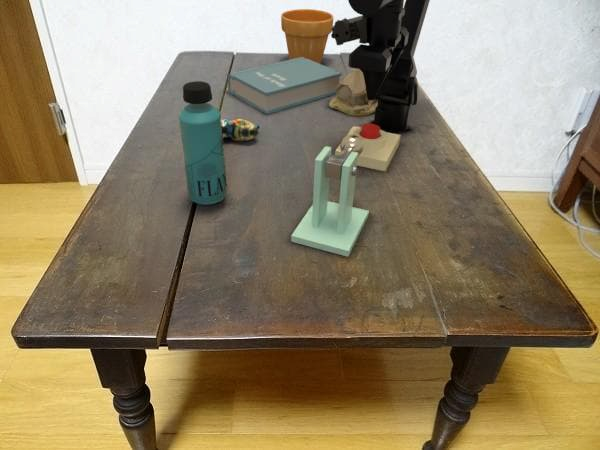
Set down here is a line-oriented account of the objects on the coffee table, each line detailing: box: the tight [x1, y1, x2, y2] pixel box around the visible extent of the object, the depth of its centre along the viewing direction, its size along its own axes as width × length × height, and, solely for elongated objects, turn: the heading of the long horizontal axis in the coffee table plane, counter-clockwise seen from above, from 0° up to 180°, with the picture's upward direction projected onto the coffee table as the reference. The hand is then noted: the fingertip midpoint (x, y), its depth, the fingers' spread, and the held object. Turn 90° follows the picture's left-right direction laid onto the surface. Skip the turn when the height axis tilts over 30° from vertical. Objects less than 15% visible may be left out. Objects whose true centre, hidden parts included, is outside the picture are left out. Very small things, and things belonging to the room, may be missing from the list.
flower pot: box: [280, 8, 334, 65], centre depth 135 cm, size 14×14×13 cm
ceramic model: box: [328, 68, 378, 117], centre depth 112 cm, size 14×11×10 cm
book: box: [227, 57, 343, 115], centre depth 119 cm, size 23×16×5 cm
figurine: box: [221, 118, 260, 142], centre depth 99 cm, size 10×4×15 cm
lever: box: [325, 135, 364, 181], centre depth 72 cm, size 11×4×4 cm, turn 158°
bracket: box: [290, 145, 370, 258], centre depth 71 cm, size 11×9×13 cm
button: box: [360, 123, 380, 139], centre depth 93 cm, size 4×4×2 cm
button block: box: [334, 125, 402, 172], centre depth 95 cm, size 12×10×4 cm
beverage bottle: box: [177, 80, 228, 206], centre depth 74 cm, size 6×7×20 cm
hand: (374, 94), depth 89 cm, fingers open, 5 cm apart
